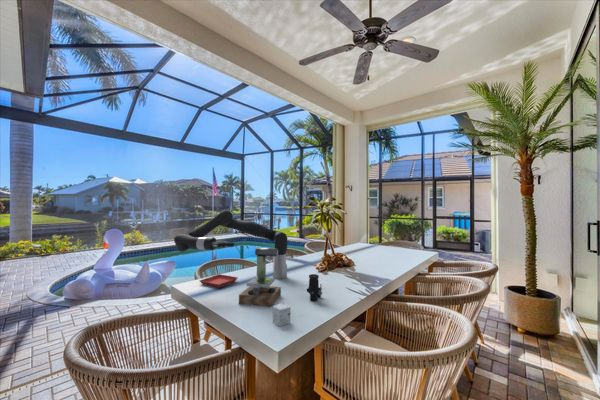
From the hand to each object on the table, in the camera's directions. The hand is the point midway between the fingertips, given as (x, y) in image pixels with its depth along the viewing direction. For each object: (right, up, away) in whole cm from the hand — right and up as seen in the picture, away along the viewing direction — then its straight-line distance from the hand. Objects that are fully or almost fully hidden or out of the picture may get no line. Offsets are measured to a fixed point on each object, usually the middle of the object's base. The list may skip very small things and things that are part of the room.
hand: (233, 244), depth 151 cm
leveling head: (+18, -23, -4) cm, 29 cm away
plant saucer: (-16, -31, +25) cm, 43 cm away
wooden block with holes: (+16, -30, -4) cm, 34 cm away
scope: (+46, -31, -3) cm, 56 cm away
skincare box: (+30, -30, -32) cm, 53 cm away
